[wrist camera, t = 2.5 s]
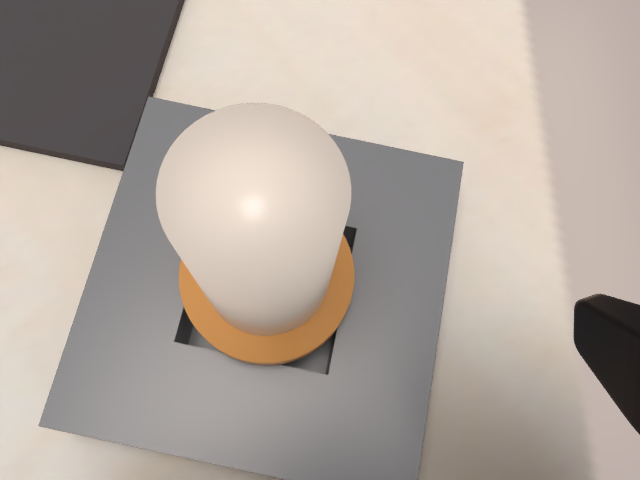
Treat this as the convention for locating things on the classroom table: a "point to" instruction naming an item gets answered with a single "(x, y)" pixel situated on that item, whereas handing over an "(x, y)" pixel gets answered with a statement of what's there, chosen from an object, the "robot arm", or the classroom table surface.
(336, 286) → the plug
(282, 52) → the classroom table surface
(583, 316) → the robot arm
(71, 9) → the mat
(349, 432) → the socket block
